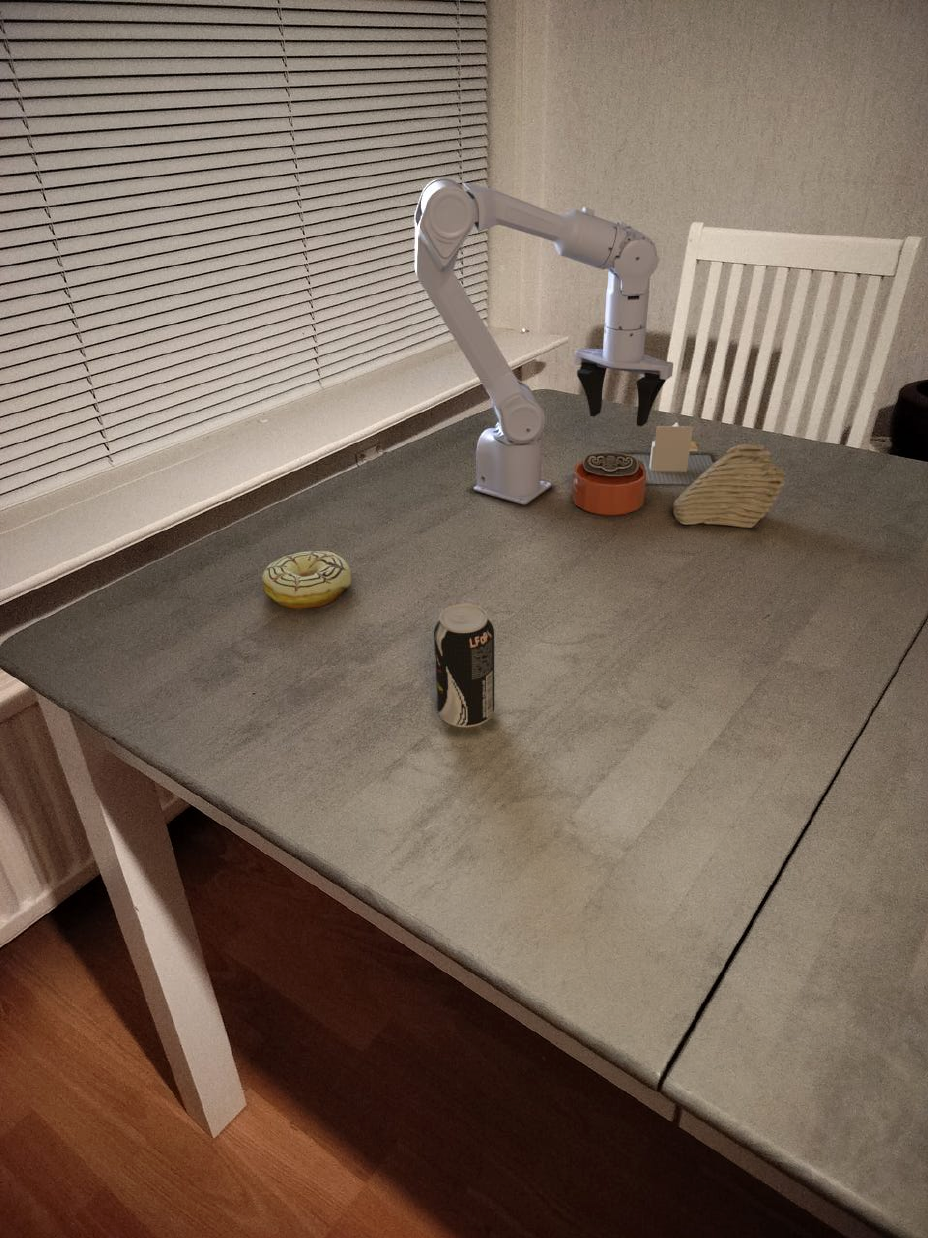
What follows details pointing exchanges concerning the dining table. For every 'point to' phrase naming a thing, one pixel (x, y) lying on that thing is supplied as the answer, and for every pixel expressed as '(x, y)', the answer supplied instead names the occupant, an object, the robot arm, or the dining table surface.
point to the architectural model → (674, 457)
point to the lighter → (612, 464)
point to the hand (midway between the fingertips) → (618, 418)
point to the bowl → (608, 491)
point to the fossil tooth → (732, 489)
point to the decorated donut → (306, 579)
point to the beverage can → (464, 665)
